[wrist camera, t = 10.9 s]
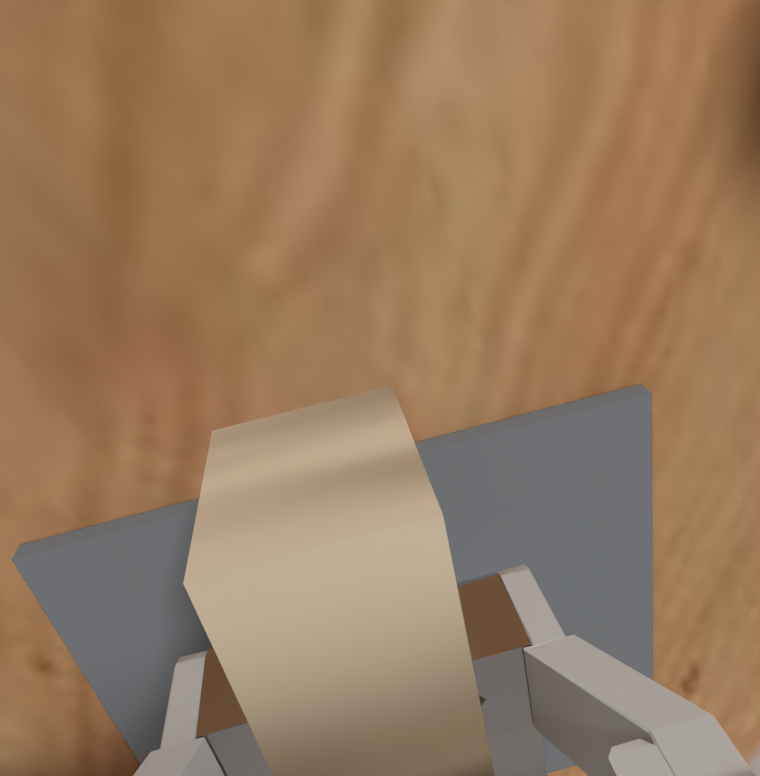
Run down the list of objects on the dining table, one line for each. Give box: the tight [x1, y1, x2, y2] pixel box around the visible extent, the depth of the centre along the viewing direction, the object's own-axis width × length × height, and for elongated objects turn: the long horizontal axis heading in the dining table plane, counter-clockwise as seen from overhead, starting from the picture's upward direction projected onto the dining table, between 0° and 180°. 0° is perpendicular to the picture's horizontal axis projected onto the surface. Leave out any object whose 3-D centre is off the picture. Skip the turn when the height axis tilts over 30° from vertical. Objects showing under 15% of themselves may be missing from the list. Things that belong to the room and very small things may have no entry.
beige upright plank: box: [183, 385, 547, 776], centre depth 12 cm, size 14×6×4 cm, turn 12°
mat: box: [12, 384, 653, 773], centre depth 21 cm, size 16×18×1 cm
